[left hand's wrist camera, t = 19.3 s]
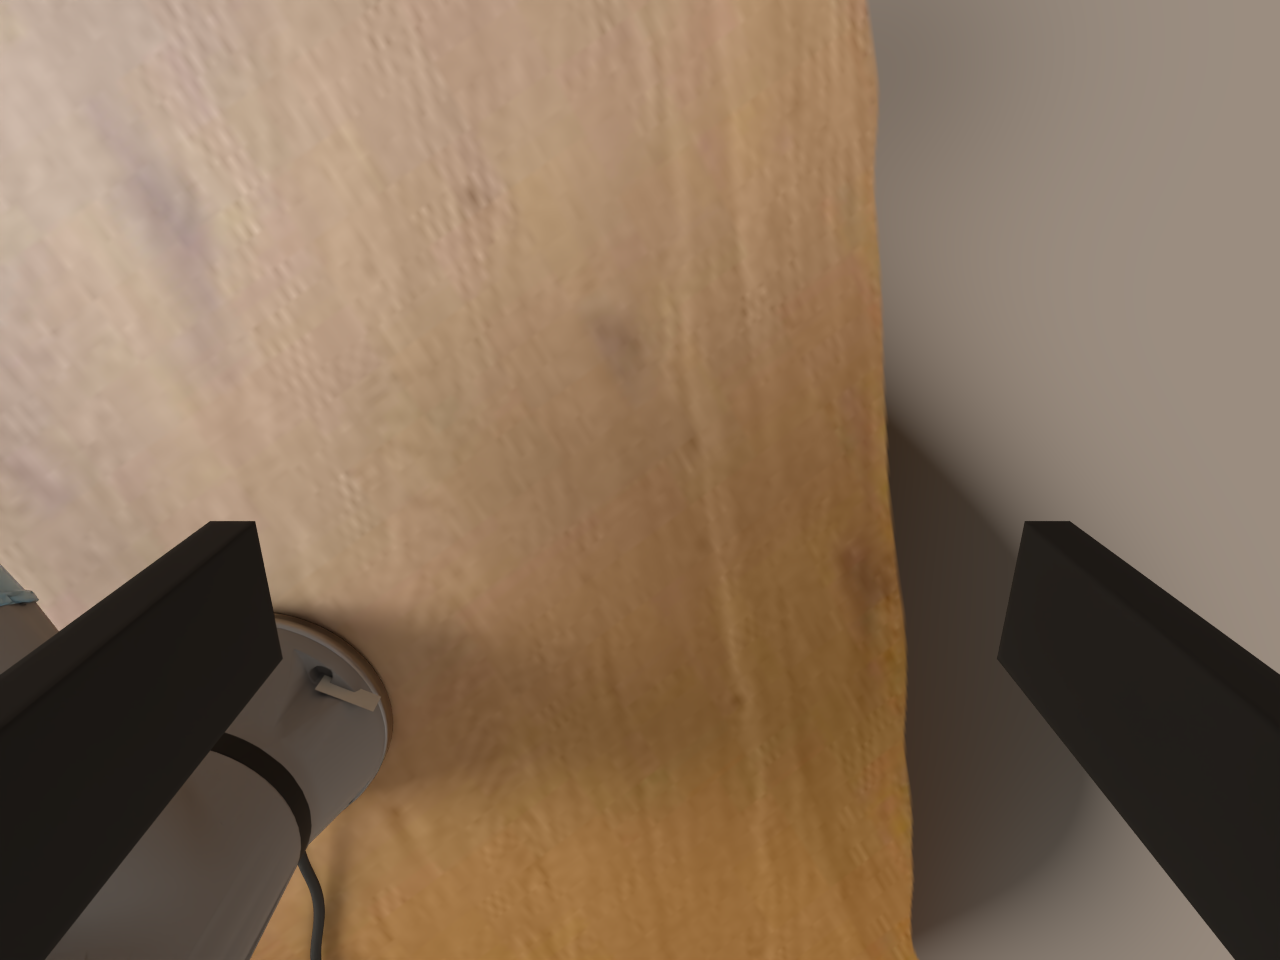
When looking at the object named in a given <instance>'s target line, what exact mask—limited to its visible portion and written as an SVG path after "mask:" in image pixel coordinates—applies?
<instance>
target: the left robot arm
mask: <svg viewBox="0 0 1280 960" xmlns="http://www.w3.org/2000/svg"><path fill="white" fill-rule="evenodd" d="M38 600H39V599H38V598H37V597H36V595H35V594H34V593H33V592H32V591H29V590H24V588H23V587H22V586H21V585H20V584H19V583H18V582H17V581H16V580H15V579H14V578H13V577H12V576H11V575H10V574H9V573H8V572H7V571H6V570H5V569H4V568H3V566H2V565H1V564H0V960H250V958H251V956H252V954H253V952H254V950H255V948H256V946H257V944H258V942H259V940H260V938H261V936H262V934H263V932H264V930H265V928H266V926H267V925H268V923H269V921H270V919H271V917H272V915H273V913H274V911H275V909H276V907H277V905H278V903H279V901H280V899H281V897H282V895H283V893H284V891H285V889H286V887H287V885H288V883H289V881H290V879H291V877H292V875H293V873H294V871H295V869H296V867H297V865H298V866H299V868H300V871H301V873H302V875H303V877H304V879H305V881H306V883H307V885H308V887H309V890H310V893H311V896H312V901H313V908H314V922H313V932H312V940H311V952H310V958H311V960H321V944H322V935H323V928H324V918H325V907H324V898H323V893H322V889H321V886H320V884H319V881H318V879H317V877H316V875H315V873H314V870H313V868H312V866H311V864H310V862H309V859H308V857H307V854H306V851H305V850H306V848H307V846H308V845H309V844H310V843H311V842H312V841H313V840H314V839H315V838H316V837H317V836H318V835H319V834H320V833H321V832H322V831H323V830H324V829H325V828H326V827H327V826H328V825H329V824H330V823H331V822H332V821H333V820H334V819H335V818H336V817H337V816H338V815H339V814H340V813H341V812H342V811H343V810H344V809H345V808H346V807H347V806H349V805H350V804H351V803H352V802H354V801H355V800H356V799H357V798H358V797H359V796H360V795H361V794H362V793H363V792H364V791H365V789H366V788H367V787H368V785H369V784H370V783H371V781H372V780H373V779H374V777H375V775H376V774H377V772H378V770H379V768H380V766H381V764H382V762H383V760H384V758H385V755H386V753H387V751H388V749H389V745H390V742H391V738H392V731H393V717H392V709H391V704H390V701H389V698H388V695H387V692H386V690H385V688H384V685H383V683H382V682H381V680H380V678H379V676H378V675H377V673H376V672H375V671H374V669H373V668H372V666H371V665H370V664H369V663H368V662H367V661H366V659H365V658H364V657H363V656H362V655H361V654H360V653H359V652H358V651H357V650H355V649H354V648H353V647H352V646H351V645H349V644H348V643H347V642H345V641H344V640H343V639H341V638H340V637H338V636H337V635H335V634H333V633H332V632H330V631H328V630H326V629H324V628H322V627H320V626H318V625H316V624H313V623H311V622H308V621H305V620H303V619H299V618H296V617H292V616H288V615H283V614H277V613H274V612H273V607H272V602H271V597H270V592H269V587H268V582H267V577H266V573H265V568H264V563H263V558H262V553H261V548H260V543H259V538H258V533H257V528H256V523H255V521H210V522H208V523H207V524H206V525H204V526H203V527H202V528H200V529H199V530H198V531H196V532H195V533H193V534H192V535H191V536H189V537H188V538H187V539H185V540H184V541H182V542H181V543H180V544H178V545H177V546H176V547H174V548H173V549H172V550H170V551H169V552H167V553H166V554H165V555H163V556H162V557H161V558H159V559H158V560H156V561H155V562H154V563H152V564H151V565H150V566H148V567H147V568H146V569H144V570H143V571H141V572H140V573H139V574H137V575H136V576H135V577H133V578H132V579H130V580H129V581H128V582H126V583H125V584H124V585H122V586H121V587H120V588H118V589H117V590H115V591H114V592H113V593H111V594H110V595H109V596H107V597H106V598H104V599H103V600H102V601H100V602H99V603H98V604H96V605H95V606H94V607H92V608H91V609H89V610H88V611H87V612H85V613H84V614H83V615H81V616H80V617H78V618H77V619H76V620H74V621H73V622H72V623H70V624H69V625H68V626H66V627H65V628H63V629H62V630H61V631H58V630H57V628H56V627H55V626H54V625H53V623H52V622H51V621H50V620H49V618H48V617H47V616H46V615H45V613H44V612H43V611H42V610H41V608H40V607H39V606H38V604H37V603H36V602H37V601H38ZM997 659H998V661H999V662H1000V663H1001V664H1002V666H1003V667H1004V668H1005V669H1006V671H1007V672H1008V673H1009V674H1010V676H1011V677H1012V678H1013V680H1014V681H1015V682H1016V683H1017V685H1018V686H1019V687H1020V688H1021V690H1022V691H1023V692H1024V693H1025V695H1026V696H1027V697H1028V698H1029V700H1030V701H1031V702H1032V704H1033V705H1034V706H1035V707H1036V709H1037V710H1038V711H1039V712H1040V714H1041V715H1042V716H1043V717H1044V719H1045V720H1046V721H1047V723H1048V724H1049V725H1050V726H1051V728H1052V729H1053V730H1054V731H1055V733H1056V734H1057V735H1058V736H1059V738H1060V739H1061V740H1062V741H1063V743H1064V744H1065V745H1066V746H1067V748H1068V749H1069V750H1070V752H1071V753H1072V754H1073V755H1074V757H1075V758H1076V759H1077V760H1078V762H1079V763H1080V764H1081V766H1082V767H1083V768H1084V769H1085V771H1086V772H1087V773H1088V774H1089V776H1090V777H1091V778H1092V779H1093V781H1094V782H1095V783H1096V784H1097V786H1098V787H1099V788H1100V789H1101V791H1102V792H1103V793H1104V795H1105V796H1106V797H1107V798H1108V800H1109V801H1110V802H1111V803H1112V805H1113V806H1114V807H1115V809H1116V810H1117V811H1118V812H1119V814H1120V815H1121V816H1122V817H1123V819H1124V820H1125V821H1126V822H1127V824H1128V825H1129V826H1130V827H1131V829H1132V830H1133V831H1134V833H1135V834H1136V835H1137V836H1138V838H1139V839H1140V840H1141V841H1142V843H1143V844H1144V845H1145V846H1146V848H1147V849H1148V850H1149V852H1150V853H1151V854H1152V855H1153V857H1154V858H1155V859H1156V860H1157V862H1158V863H1159V864H1160V865H1161V867H1162V868H1163V869H1164V870H1165V872H1166V873H1167V874H1168V876H1169V877H1170V878H1171V879H1172V881H1173V882H1174V883H1175V884H1176V886H1177V887H1178V888H1179V889H1180V891H1181V892H1182V893H1183V894H1184V896H1185V897H1186V898H1187V900H1188V901H1189V902H1190V903H1191V905H1192V906H1193V907H1194V908H1195V910H1196V911H1197V912H1198V913H1199V915H1200V916H1201V917H1202V919H1203V920H1204V921H1205V922H1206V924H1207V925H1208V926H1209V927H1210V929H1211V930H1212V931H1213V932H1214V934H1215V935H1216V936H1217V937H1218V939H1219V940H1220V941H1221V943H1222V944H1223V945H1224V946H1225V948H1226V949H1227V950H1228V951H1229V953H1230V954H1231V955H1232V956H1233V958H1234V959H1235V960H1280V674H1278V673H1277V672H1275V671H1274V670H1273V669H1271V668H1270V667H1269V666H1267V665H1266V664H1264V663H1263V662H1262V661H1260V660H1259V659H1258V658H1256V657H1255V656H1254V655H1252V654H1251V653H1249V652H1248V651H1247V650H1245V649H1244V648H1243V647H1241V646H1240V645H1238V644H1237V643H1236V642H1234V641H1233V640H1232V639H1230V638H1229V637H1228V636H1226V635H1225V634H1223V633H1222V632H1221V631H1219V630H1218V629H1217V628H1215V627H1214V626H1212V625H1211V624H1210V623H1208V622H1207V621H1206V620H1204V619H1203V618H1202V617H1200V616H1199V615H1197V614H1196V613H1195V612H1193V611H1192V610H1191V609H1189V608H1188V607H1186V606H1185V605H1184V604H1182V603H1181V602H1180V601H1178V600H1177V599H1176V598H1174V597H1173V596H1171V595H1170V594H1169V593H1167V592H1166V591H1165V590H1163V589H1162V588H1160V587H1159V586H1158V585H1156V584H1155V583H1154V582H1152V581H1151V580H1150V579H1148V578H1147V577H1145V576H1144V575H1143V574H1141V573H1140V572H1139V571H1137V570H1136V569H1134V568H1133V567H1132V566H1130V565H1129V564H1128V563H1126V562H1125V561H1124V560H1122V559H1121V558H1119V557H1118V556H1117V555H1115V554H1114V553H1113V552H1111V551H1110V550H1108V549H1107V548H1106V547H1104V546H1103V545H1101V544H1100V543H1099V542H1097V541H1096V540H1095V539H1093V538H1092V537H1091V536H1089V535H1088V534H1087V533H1085V532H1084V531H1082V530H1081V529H1080V528H1078V527H1077V526H1076V525H1074V524H1073V523H1072V522H1070V521H1025V523H1024V528H1023V533H1022V538H1021V543H1020V548H1019V553H1018V558H1017V563H1016V568H1015V573H1014V578H1013V582H1012V588H1011V592H1010V597H1009V602H1008V607H1007V612H1006V617H1005V622H1004V627H1003V632H1002V637H1001V642H1000V647H999V652H998V656H997Z"/></svg>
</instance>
